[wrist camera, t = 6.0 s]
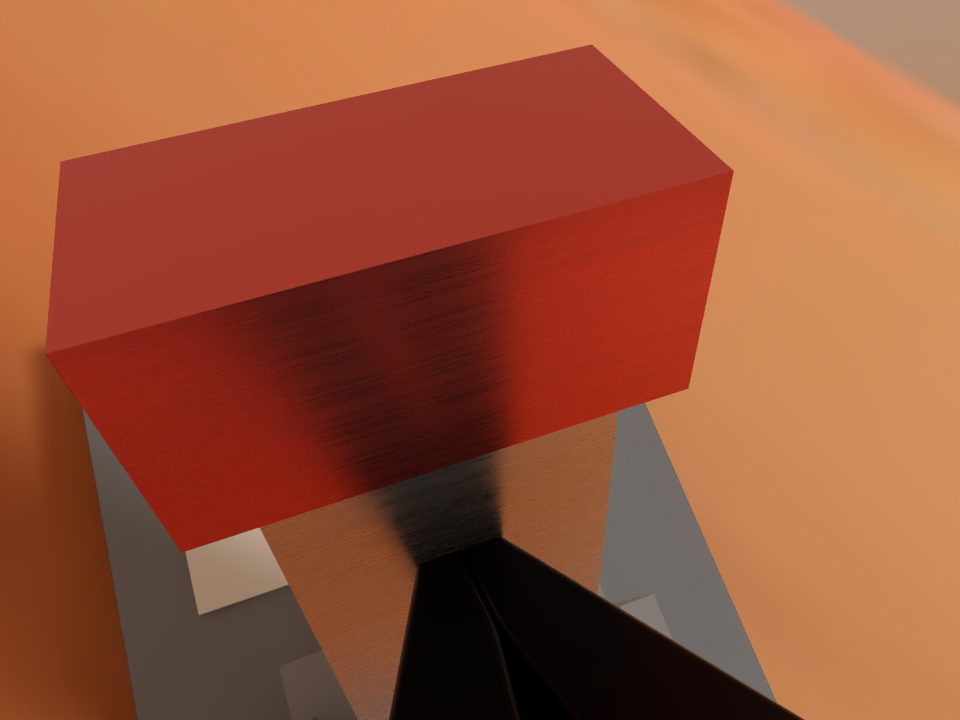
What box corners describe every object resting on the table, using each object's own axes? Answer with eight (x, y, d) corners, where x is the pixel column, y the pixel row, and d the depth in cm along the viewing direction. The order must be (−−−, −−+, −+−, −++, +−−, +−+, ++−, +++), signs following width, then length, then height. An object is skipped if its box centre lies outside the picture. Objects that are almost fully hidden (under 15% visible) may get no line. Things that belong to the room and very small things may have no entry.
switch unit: (847, 910, 15) (1041, 1027, 10) (245, 1209, 13) (148, 1529, 8) (556, 238, 20) (599, 113, 15) (89, 365, 18) (-26, 263, 13)
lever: (623, 745, 13) (762, 163, 5) (369, 851, 12) (3, 363, 4) (573, 636, 14) (614, 38, 6) (343, 724, 13) (30, 168, 5)
